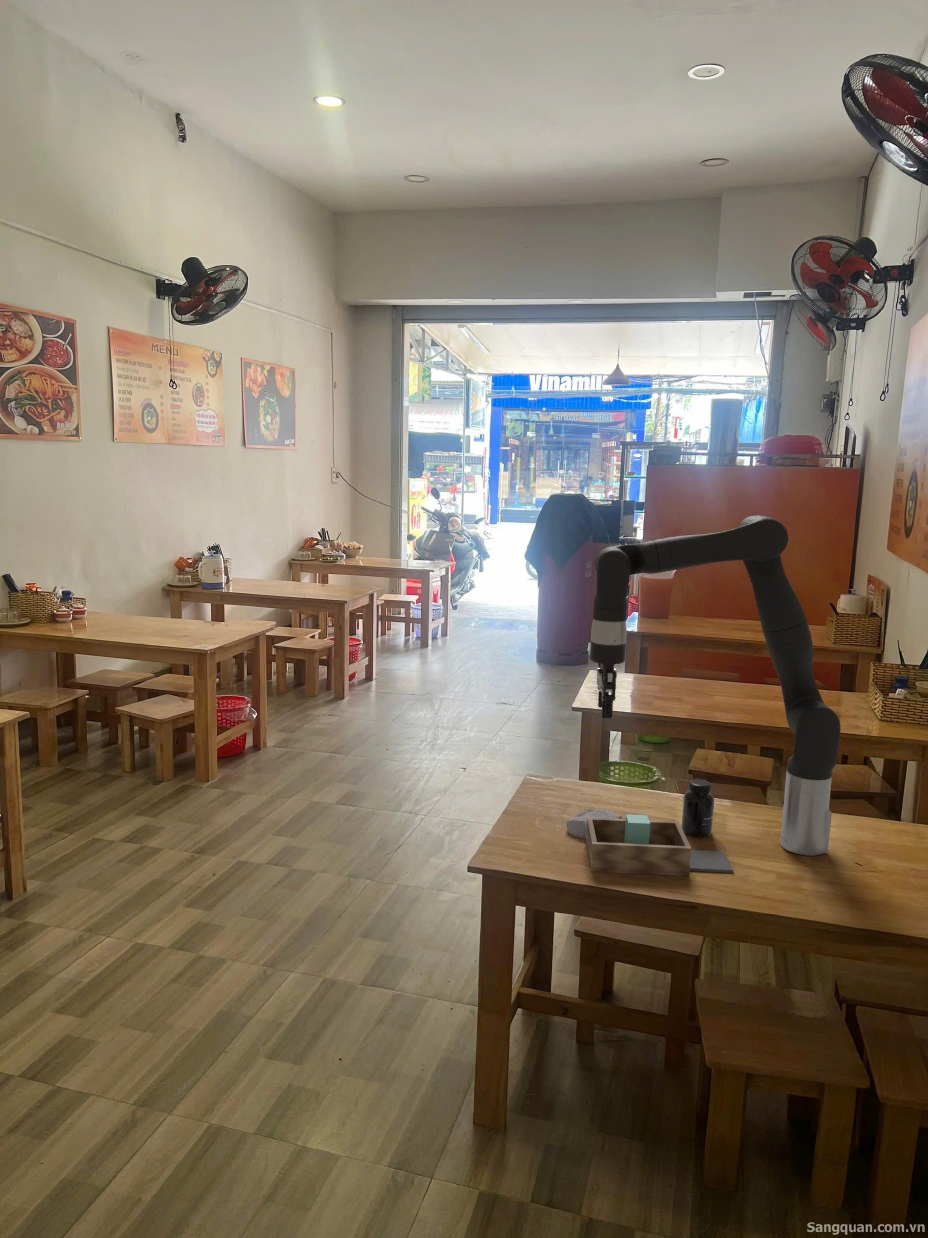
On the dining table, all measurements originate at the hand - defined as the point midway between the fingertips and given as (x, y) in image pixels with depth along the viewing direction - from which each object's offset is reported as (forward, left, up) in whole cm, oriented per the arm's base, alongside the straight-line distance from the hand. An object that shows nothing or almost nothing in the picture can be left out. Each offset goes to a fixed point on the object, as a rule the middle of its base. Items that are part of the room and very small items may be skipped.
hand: (604, 712), depth 192 cm
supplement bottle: (-23, -6, -30) cm, 38 cm away
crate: (-7, +10, -29) cm, 32 cm away
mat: (-22, +10, -29) cm, 38 cm away
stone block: (+1, -5, -30) cm, 30 cm away
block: (-7, +10, -27) cm, 30 cm away
